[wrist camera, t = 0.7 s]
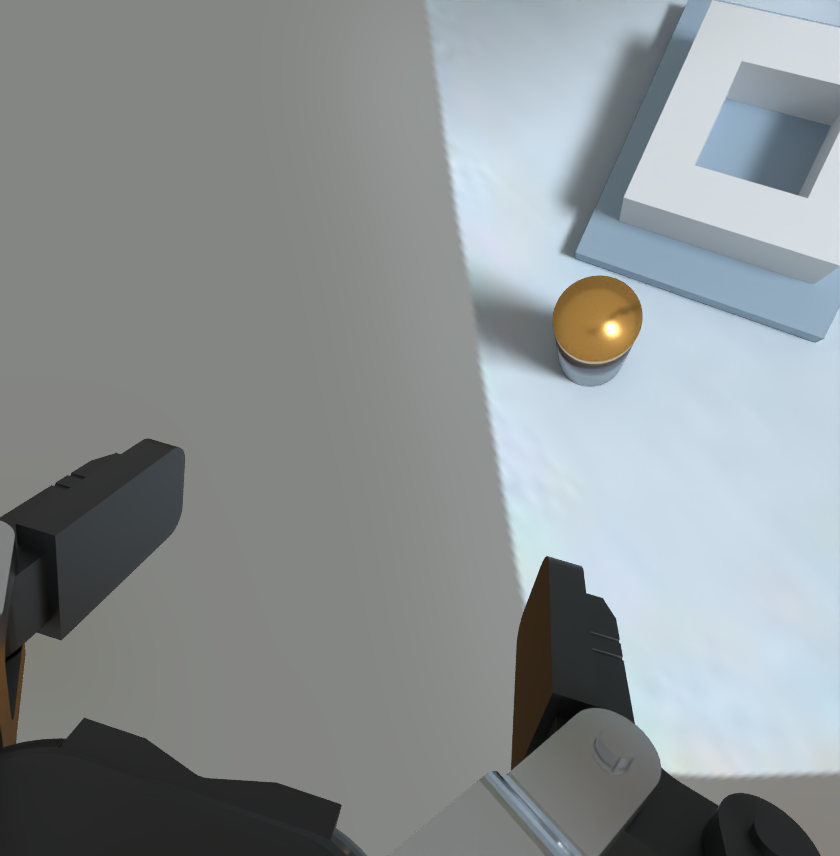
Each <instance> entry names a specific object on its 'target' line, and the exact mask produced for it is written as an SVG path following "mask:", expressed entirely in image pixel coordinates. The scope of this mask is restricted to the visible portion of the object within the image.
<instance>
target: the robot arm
mask: <svg viewBox="0 0 840 856" xmlns="http://www.w3.org/2000/svg"><path fill="white" fill-rule="evenodd" d="M184 468H185V454H184V451H183V450H182V449H181V448H179V447H176V446H172V445H169V444H165V443H162V442H159V441H155V440H152V439H144V440H143V441H141V442H139V443H138V444H136V445H135V446H133V447H132V448H130V449H128V450H127V451H125V452H124V453H122V454H118V453H115V454H112V455H108V456H105V457H102V458H99V459H95V460H92V461H90V462H88V463H87V464H85V465H84V466H82V467H80V468H79V469H77V470H75V471H74V472H72V473H71V476H68V475H67V476H66V477H64V478H63V479H61V480H59V481H58V482H56V484H55V486H52V485H51V486H50V487H48V488H47V489H45V490H43V491H42V492H40V493H39V494H37V495H36V496H34V497H32V498H31V499H29V500H27V501H26V502H24V503H23V504H21V505H20V506H18V507H16V508H15V509H13V510H11V511H10V512H8V513H7V514H5V515H3V516H2V517H0V856H367V855H366V854H365V853H364V852H363V851H362V849H361V848H360V847H358V846H357V845H356V844H355V843H354V842H353V841H352V840H351V839H350V838H349V837H347V836H346V835H345V834H343V833H342V832H341V831H339V830H338V829H336V825H337V821H338V817H339V813H340V809H341V805H340V804H338V803H335V802H332V801H329V800H326V799H323V798H320V797H317V796H314V795H312V794H309V793H306V792H303V791H299V790H297V789H293V788H291V787H288V786H285V785H282V784H279V783H272V782H257V781H241V780H227V779H210V778H203V777H200V776H198V775H196V774H194V773H193V772H191V771H190V770H189V769H188V768H186V767H185V766H183V765H182V764H181V763H179V762H178V761H176V760H175V759H173V758H172V757H171V756H169V755H168V754H167V753H165V752H163V751H162V750H161V749H160V748H158V747H157V746H155V745H154V744H153V743H151V742H150V741H148V740H147V739H145V738H142V737H139V736H136V735H134V734H130V733H127V732H125V731H122V730H119V729H116V728H112V727H110V726H107V725H104V724H101V723H98V722H95V721H92V720H89V719H86V718H84V719H83V720H82V721H81V722H80V723H79V725H78V726H77V727H76V728H75V729H74V730H73V732H72V733H71V734H70V735H69V736H68V737H67V739H62V738H61V739H60V738H59V739H41V740H34V741H27V742H22V743H18V744H16V740H17V729H18V720H19V711H20V702H21V693H22V683H23V674H24V665H25V656H26V650H25V642H26V641H27V640H28V639H29V638H31V637H32V636H33V635H34V634H35V633H36V632H37V633H41V634H43V635H46V636H49V637H53V638H56V639H59V640H62V639H63V638H64V637H65V636H66V635H67V634H68V633H70V631H72V630H73V629H74V628H75V627H76V626H77V625H78V624H79V623H80V622H81V621H82V620H83V619H84V618H85V617H86V616H87V615H88V614H89V613H90V612H91V611H92V610H93V609H94V608H95V607H97V606H98V605H99V604H100V603H101V602H102V601H103V600H104V599H105V598H106V597H107V596H108V595H109V594H110V593H111V592H112V591H113V590H114V589H115V588H116V587H117V586H118V585H119V584H120V583H121V582H122V581H123V580H125V579H126V578H127V577H128V576H129V575H130V574H131V573H132V572H133V571H134V570H135V569H136V568H137V567H138V566H139V565H140V564H141V563H142V562H143V561H144V560H145V559H146V558H147V557H148V556H149V555H151V554H152V553H153V551H155V550H156V548H158V547H159V546H160V545H161V544H162V543H163V542H164V541H165V540H166V539H167V538H168V537H169V536H170V535H171V534H172V533H173V531H174V530H175V528H176V526H177V524H178V522H179V519H180V516H181V512H182V505H183V487H184ZM619 640H620V638H619V633H618V627H617V622H616V618H615V617H614V615H613V613H612V612H611V610H610V609H609V607H608V606H607V604H606V603H605V601H604V600H603V598H600V597H597V596H594V595H590V594H587V593H586V588H585V580H584V571H583V568H582V566H579V565H576V564H572V563H569V562H565V561H562V560H558V559H555V558H552V557H548V556H546V557H545V559H544V560H543V562H542V565H541V567H540V570H539V572H538V575H537V578H536V580H535V583H534V586H533V588H532V591H531V594H530V596H529V599H528V601H527V604H526V607H525V609H524V612H523V615H522V618H521V622H520V626H519V631H518V637H517V650H516V671H515V694H514V716H513V737H512V760H511V771H510V772H509V773H508V774H506V775H505V776H503V777H502V776H501V775H500V774H499V773H498V772H497V771H492V772H490V773H488V774H486V775H485V776H483V777H482V778H481V779H479V780H478V781H477V782H476V783H474V784H473V785H472V786H471V787H470V788H468V789H467V790H466V791H465V792H464V793H462V794H461V795H460V796H459V797H458V798H456V799H455V800H454V801H453V802H452V803H450V804H449V805H448V806H447V807H446V808H445V809H443V810H442V811H441V812H440V813H438V814H437V815H436V816H435V817H434V818H432V819H431V820H430V821H429V822H428V823H426V824H425V825H424V826H423V827H422V828H420V829H419V830H418V831H417V832H415V833H414V834H413V835H412V836H411V837H409V838H408V839H407V840H406V841H405V842H403V843H402V844H401V845H400V846H399V847H397V848H396V849H395V850H394V851H393V852H391V853H390V854H389V855H388V856H820V854H819V852H818V850H817V848H816V847H815V845H814V844H813V842H812V841H811V840H810V838H809V837H808V835H807V834H806V833H805V832H804V831H803V829H802V828H801V827H800V826H799V825H798V824H797V823H796V822H795V821H794V820H793V819H792V818H790V817H789V816H788V815H787V814H786V813H785V812H783V811H782V810H780V809H779V808H778V807H776V806H775V805H773V804H771V803H770V802H768V801H766V800H764V799H761V798H759V797H757V796H754V795H750V794H744V793H736V794H731V795H729V796H727V797H726V798H724V799H723V801H722V802H721V804H720V805H719V806H718V805H716V804H715V803H713V802H712V801H710V800H708V799H707V798H705V797H703V796H702V795H700V794H698V793H697V792H695V791H693V790H692V789H690V788H689V787H687V786H685V785H684V784H682V783H680V782H679V781H677V780H676V779H675V778H673V777H672V776H671V775H669V774H668V773H667V772H666V771H664V770H663V769H662V768H661V764H660V759H659V756H658V753H657V751H656V749H655V747H654V745H653V744H652V742H651V741H650V740H649V738H648V737H647V736H646V735H645V733H644V732H643V731H642V730H641V729H640V728H639V727H638V726H636V725H635V722H634V717H633V711H632V705H631V700H630V694H629V689H628V683H627V678H626V672H625V666H624V661H623V660H622V657H623V655H622V650H621V644H620V643H619Z"/></svg>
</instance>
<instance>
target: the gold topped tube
mask: <svg viewBox="0 0 840 856" xmlns="http://www.w3.org/2000/svg"><path fill="white" fill-rule="evenodd" d="M641 325H642V308H641V304H640V301H639V299H638V297H637V295H636V294H635V293H634V291H633V290H632V289H631V288H630V287H629V286H628V285H626V284H625V283H624V282H622V281H620V280H618V279H615V278H612V277H608V276H591V277H587V278H584V279H581V280H579V281H577V282H575V283H574V284H572V285H571V286H569V287H568V288H567V289H566V290H565V291H564V292H563V293H562V295H561V296H560V298H559V299H558V301H557V303H556V306H555V308H554V313H553V328H554V333H555V339H556V344H557V350H558V355H559V361H560V365H561V368H562V370H563V372H564V373H565V375H566V376H567V377H568V378H569V379H570V380H571V381H573V382H574V383H577V384H579V385H582V386H588V387H592V386H599V385H602V384H604V383H607V382H608V381H610V380H611V379H612V378H614V376H615V375H616V374H617V373H618V372H619V370H620V368H621V366H622V364H623V362H624V361H625V359H626V357H627V355H628V353H629V351H630V349H631V347H632V345H633V343H634V342H635V340H636V338H637V336H638V334H639V331H640V329H641Z"/></svg>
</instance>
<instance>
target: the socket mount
mask: <svg viewBox="0 0 840 856" xmlns="http://www.w3.org/2000/svg"><path fill="white" fill-rule="evenodd" d="M575 258H576V259H578V260H581V261H584V262H587V263H590V264H593V265H596V266H598V267H601V268H604V269H607V270H610V271H613V272H616V273H618V274H621V275H624V276H627V277H630V278H633V279H636V280H638V281H641V282H644V283H647V284H650V285H653V286H656V287H658V288H661V289H664V290H667V291H670V292H673V293H676V294H678V295H681V296H684V297H687V298H690V299H693V300H696V301H698V302H701V303H704V304H707V305H710V306H713V307H716V308H718V309H721V310H724V311H727V312H730V313H733V314H736V315H738V316H741V317H744V318H747V319H750V320H753V321H756V322H758V323H761V324H764V325H767V326H770V327H773V328H776V329H778V330H781V331H784V332H787V333H790V334H793V335H796V336H798V337H801V338H804V339H807V340H810V341H813V342H818V341H820V340H822V339H824V338H825V336H826V333H827V331H828V329H829V327H830V325H831V323H832V321H833V319H834V317H835V315H836V313H837V311H838V309H839V307H840V26H835V25H830V24H826V23H821V22H817V21H812V20H807V19H803V18H798V17H794V16H789V15H785V14H780V13H775V12H771V11H766V10H762V9H757V8H752V7H748V6H743V5H739V4H734V3H730V2H725V1H720V0H688V2H687V4H686V6H685V9H684V11H683V13H682V15H681V18H680V20H679V22H678V24H677V27H676V29H675V31H674V33H673V35H672V38H671V40H670V42H669V44H668V47H667V49H666V51H665V53H664V56H663V58H662V60H661V62H660V64H659V67H658V69H657V71H656V73H655V76H654V78H653V80H652V82H651V85H650V87H649V89H648V91H647V94H646V96H645V98H644V100H643V102H642V105H641V107H640V109H639V111H638V114H637V116H636V118H635V120H634V123H633V125H632V127H631V129H630V131H629V134H628V136H627V138H626V140H625V143H624V145H623V147H622V149H621V152H620V154H619V156H618V158H617V160H616V163H615V165H614V167H613V169H612V172H611V174H610V176H609V178H608V181H607V183H606V185H605V187H604V189H603V192H602V194H601V196H600V198H599V201H598V203H597V205H596V207H595V210H594V212H593V214H592V216H591V219H590V221H589V223H588V225H587V227H586V230H585V232H584V234H583V236H582V239H581V241H580V243H579V245H578V248H577V250H576V252H575Z"/></svg>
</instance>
